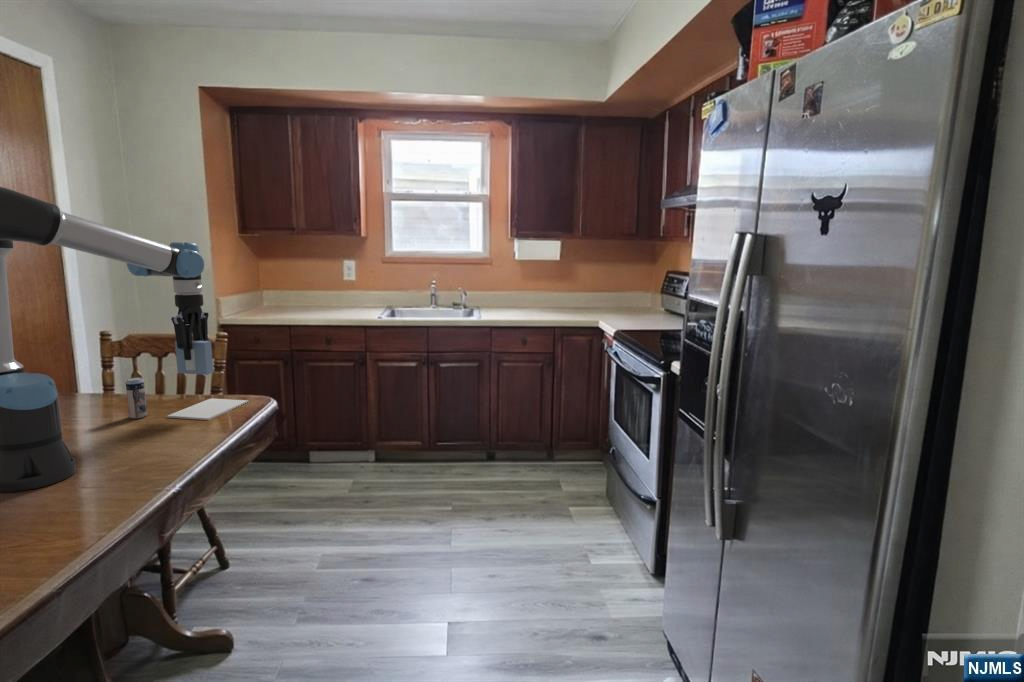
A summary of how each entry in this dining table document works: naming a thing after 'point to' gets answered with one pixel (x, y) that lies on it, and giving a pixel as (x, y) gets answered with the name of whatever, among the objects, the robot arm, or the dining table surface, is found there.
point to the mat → (208, 409)
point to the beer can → (136, 398)
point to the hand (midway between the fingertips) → (195, 368)
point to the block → (196, 358)
